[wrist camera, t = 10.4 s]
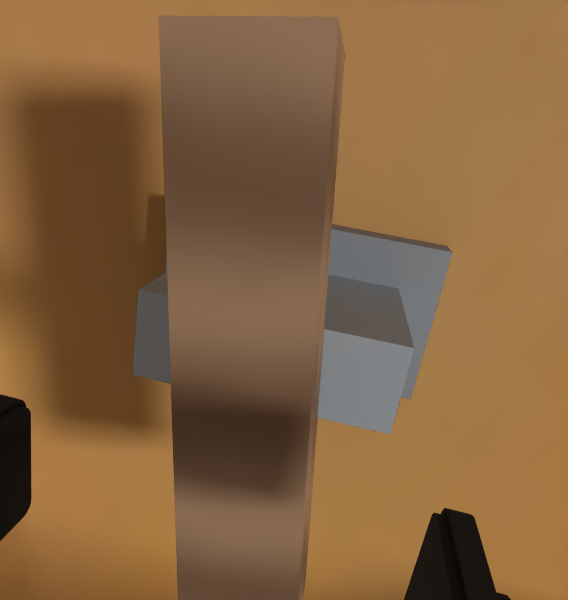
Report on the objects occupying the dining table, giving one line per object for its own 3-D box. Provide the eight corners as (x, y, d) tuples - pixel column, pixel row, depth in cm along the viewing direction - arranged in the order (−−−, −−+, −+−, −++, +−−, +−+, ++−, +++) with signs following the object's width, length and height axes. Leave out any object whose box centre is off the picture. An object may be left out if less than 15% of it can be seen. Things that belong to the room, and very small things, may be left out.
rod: (305, 580, 20) (291, 680, 16) (213, 565, 20) (179, 658, 17) (344, 54, 14) (337, 16, 10) (212, 52, 14) (158, 15, 11)
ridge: (407, 385, 26) (429, 497, 18) (169, 332, 28) (82, 412, 19) (447, 246, 24) (494, 298, 15) (181, 195, 25) (88, 217, 17)
